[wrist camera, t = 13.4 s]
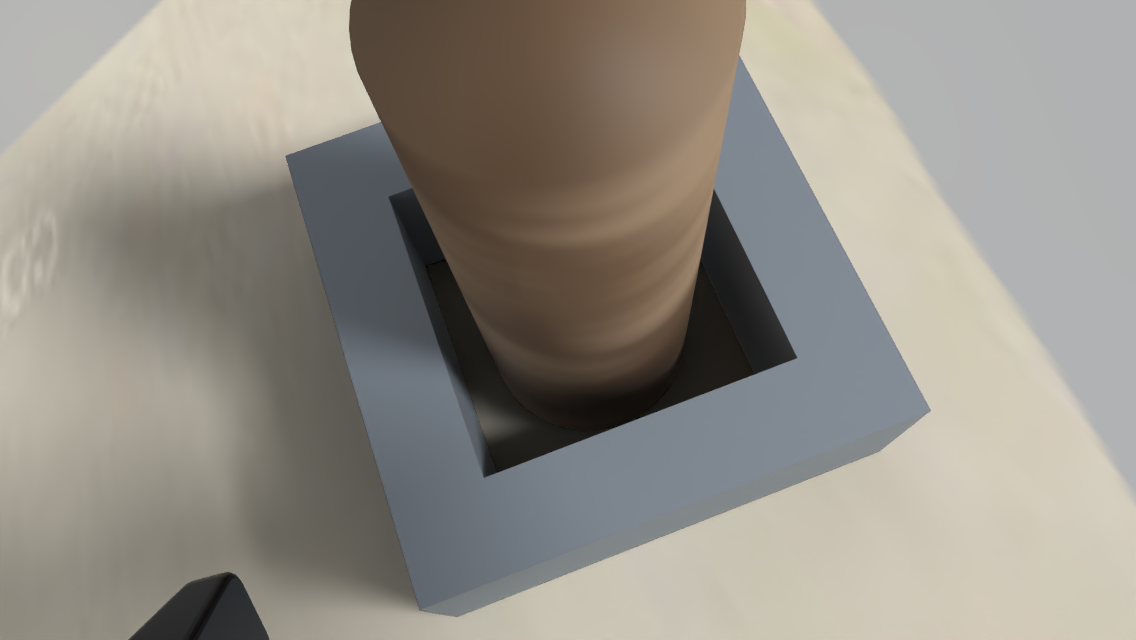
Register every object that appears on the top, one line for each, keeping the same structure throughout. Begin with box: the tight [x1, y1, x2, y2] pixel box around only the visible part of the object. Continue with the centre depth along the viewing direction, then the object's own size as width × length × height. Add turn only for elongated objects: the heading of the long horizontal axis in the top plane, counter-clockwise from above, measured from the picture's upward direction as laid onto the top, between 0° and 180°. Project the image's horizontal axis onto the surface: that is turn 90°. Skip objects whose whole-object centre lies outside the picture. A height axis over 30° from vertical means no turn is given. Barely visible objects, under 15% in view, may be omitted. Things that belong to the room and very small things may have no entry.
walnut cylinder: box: [349, 0, 746, 430], centre depth 17 cm, size 5×5×13 cm
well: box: [286, 56, 931, 617], centre depth 22 cm, size 11×11×4 cm
